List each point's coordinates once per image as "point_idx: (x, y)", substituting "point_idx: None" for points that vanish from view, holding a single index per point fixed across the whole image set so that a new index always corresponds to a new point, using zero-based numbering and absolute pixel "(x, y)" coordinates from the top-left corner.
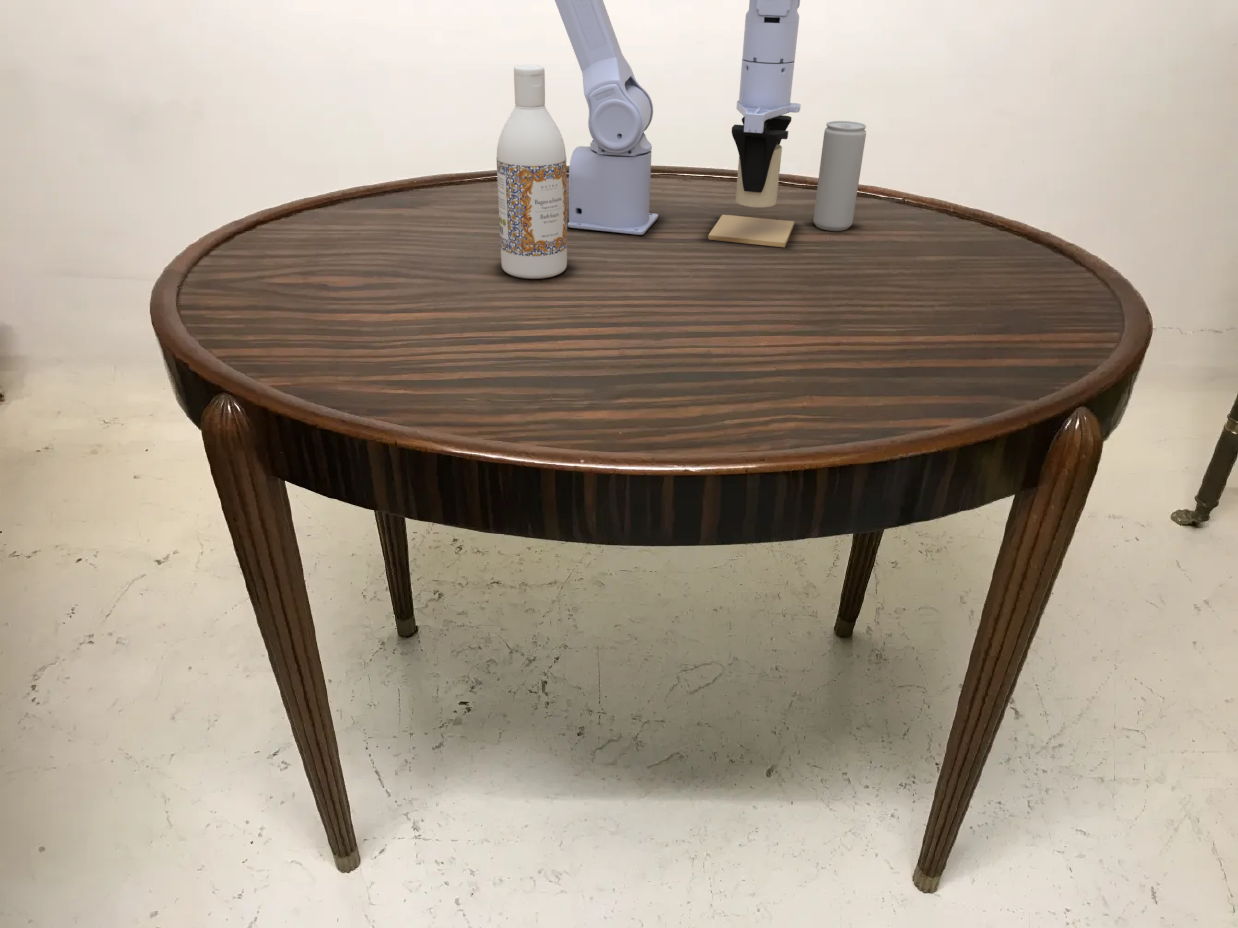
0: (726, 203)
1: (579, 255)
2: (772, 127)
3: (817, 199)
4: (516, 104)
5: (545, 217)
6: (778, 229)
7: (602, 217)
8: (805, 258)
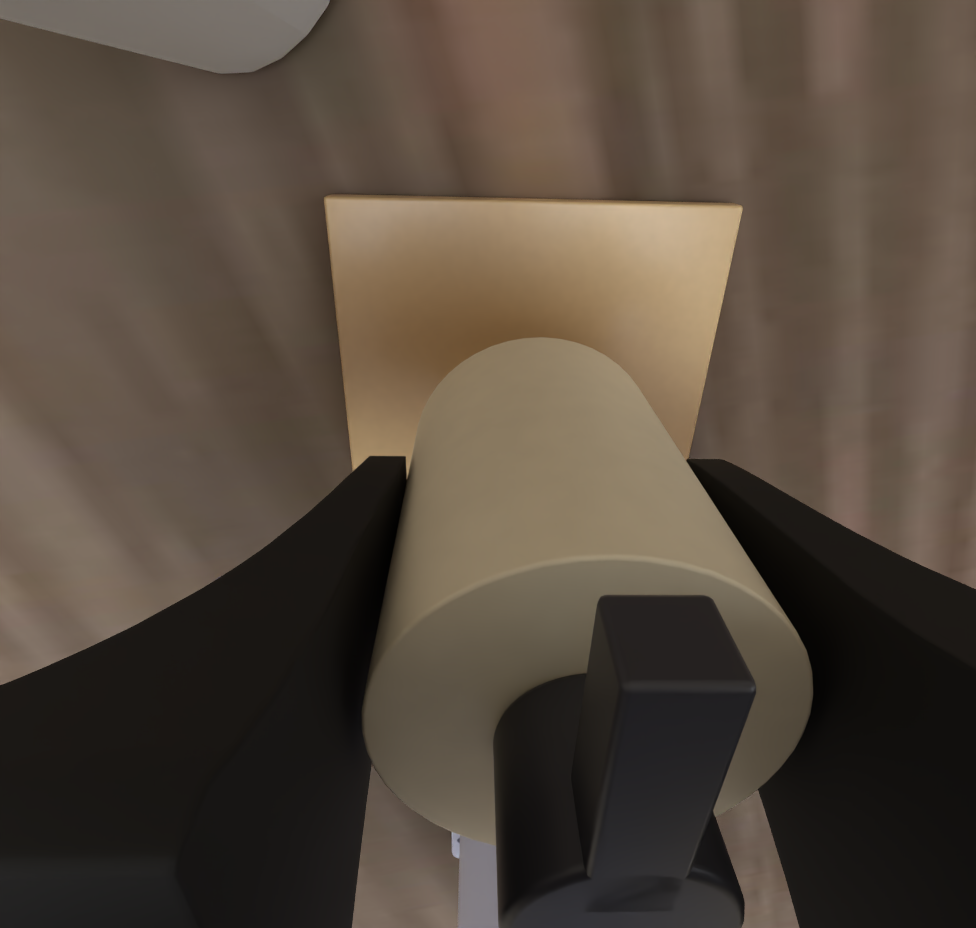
0: (107, 547)
1: None
2: (294, 863)
3: (228, 35)
4: None
5: None
6: (513, 270)
7: None
8: (906, 62)
